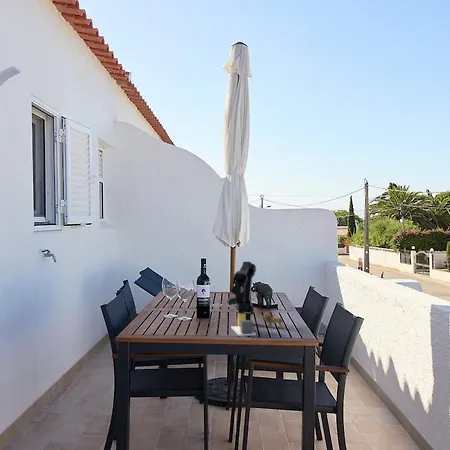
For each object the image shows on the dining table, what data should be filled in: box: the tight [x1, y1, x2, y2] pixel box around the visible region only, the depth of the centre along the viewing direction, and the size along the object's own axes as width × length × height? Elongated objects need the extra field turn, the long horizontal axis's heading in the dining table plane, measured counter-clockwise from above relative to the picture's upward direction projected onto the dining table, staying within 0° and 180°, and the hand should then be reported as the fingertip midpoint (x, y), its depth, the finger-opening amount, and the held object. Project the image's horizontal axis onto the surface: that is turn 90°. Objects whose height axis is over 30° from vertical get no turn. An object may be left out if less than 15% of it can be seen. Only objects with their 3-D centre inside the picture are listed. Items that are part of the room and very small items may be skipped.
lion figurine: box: [262, 312, 287, 330], centre depth 298 cm, size 15×5×9 cm, turn 70°
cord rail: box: [230, 319, 257, 337], centre depth 286 cm, size 22×10×8 cm, turn 11°
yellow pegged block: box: [237, 312, 246, 327], centre depth 290 cm, size 4×4×8 cm
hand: (240, 318), depth 294 cm, fingers closed
